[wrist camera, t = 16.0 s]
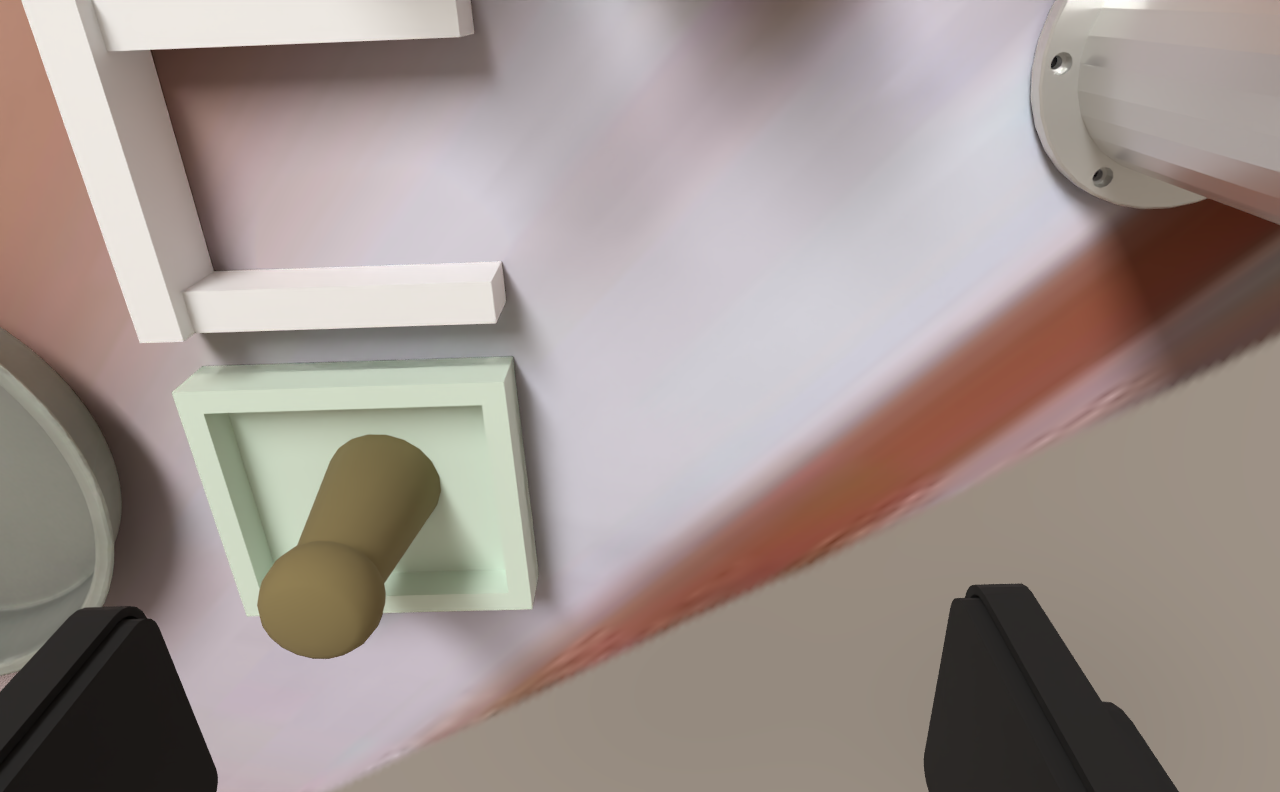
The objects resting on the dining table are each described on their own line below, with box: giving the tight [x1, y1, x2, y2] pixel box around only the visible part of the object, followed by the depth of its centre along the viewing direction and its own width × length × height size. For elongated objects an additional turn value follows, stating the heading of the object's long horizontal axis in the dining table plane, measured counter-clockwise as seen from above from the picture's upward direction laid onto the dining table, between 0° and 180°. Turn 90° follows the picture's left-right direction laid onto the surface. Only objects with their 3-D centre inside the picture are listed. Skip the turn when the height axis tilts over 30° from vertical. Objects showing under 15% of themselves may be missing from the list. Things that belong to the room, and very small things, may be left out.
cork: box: [257, 434, 441, 659], centre depth 38 cm, size 6×6×11 cm
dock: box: [22, 0, 506, 343], centre depth 35 cm, size 16×14×4 cm
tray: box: [172, 356, 539, 616], centre depth 43 cm, size 16×14×3 cm
